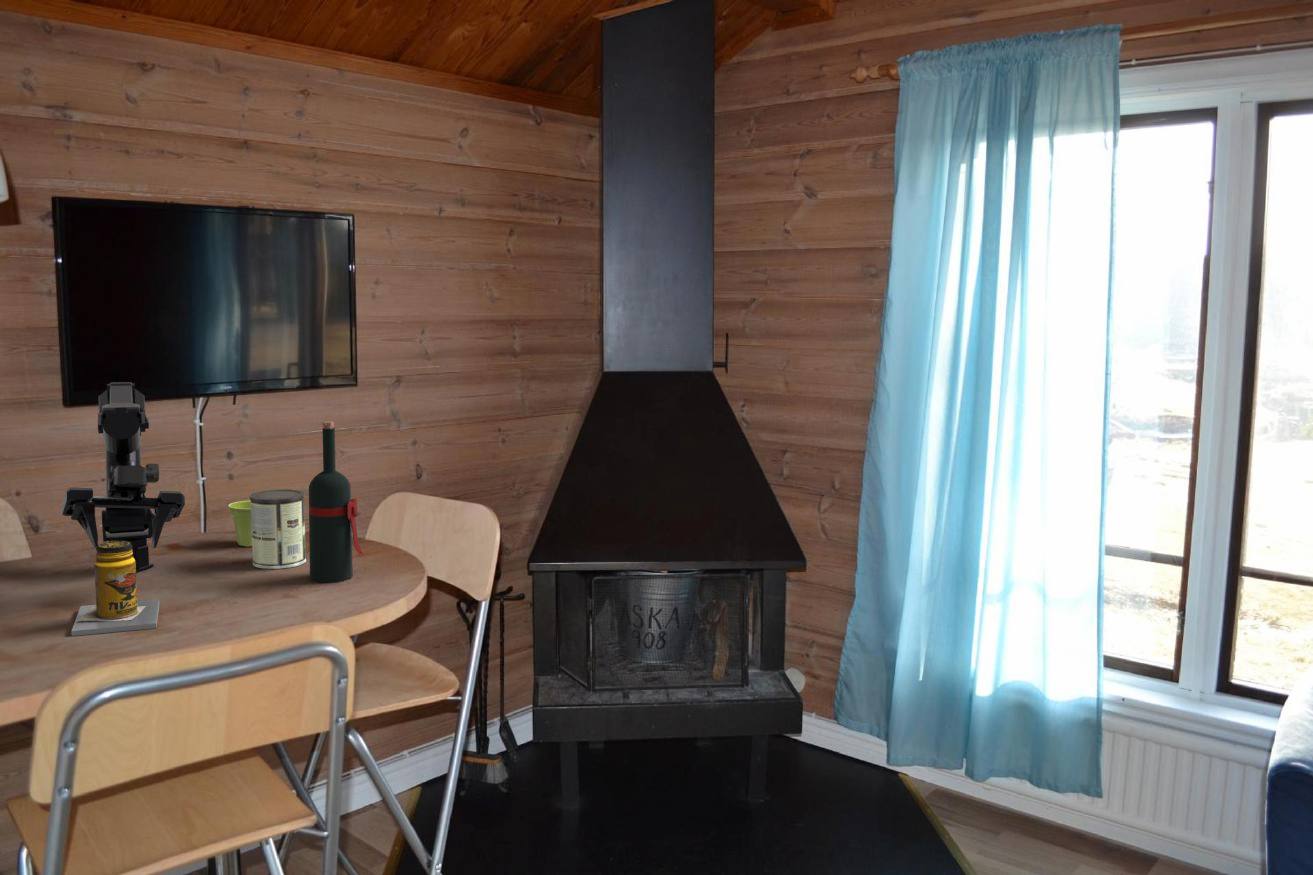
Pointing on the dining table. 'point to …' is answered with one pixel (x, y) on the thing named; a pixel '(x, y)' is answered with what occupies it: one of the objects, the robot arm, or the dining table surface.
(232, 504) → the plant pot
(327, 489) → the wine bottle
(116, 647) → the dining table surface
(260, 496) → the coffee can
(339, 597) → the dining table surface
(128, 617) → the condiment
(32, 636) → the dining table surface
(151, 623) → the board
